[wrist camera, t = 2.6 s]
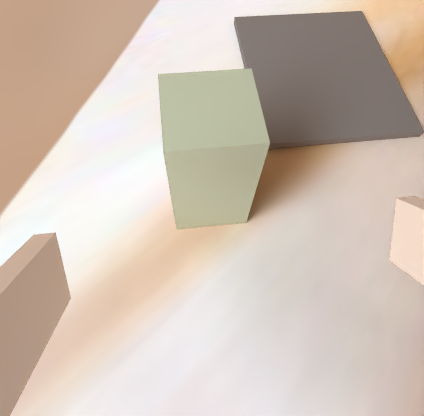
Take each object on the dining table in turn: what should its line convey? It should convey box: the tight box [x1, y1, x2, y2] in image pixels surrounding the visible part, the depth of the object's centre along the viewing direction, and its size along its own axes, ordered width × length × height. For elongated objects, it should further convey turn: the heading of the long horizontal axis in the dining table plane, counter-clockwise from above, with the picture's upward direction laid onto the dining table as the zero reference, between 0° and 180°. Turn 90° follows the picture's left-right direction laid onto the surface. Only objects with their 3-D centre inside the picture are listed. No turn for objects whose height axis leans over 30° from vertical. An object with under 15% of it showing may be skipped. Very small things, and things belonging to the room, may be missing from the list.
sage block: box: [158, 68, 270, 230], centre depth 25 cm, size 6×6×11 cm
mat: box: [234, 11, 424, 149], centre depth 37 cm, size 16×19×1 cm
